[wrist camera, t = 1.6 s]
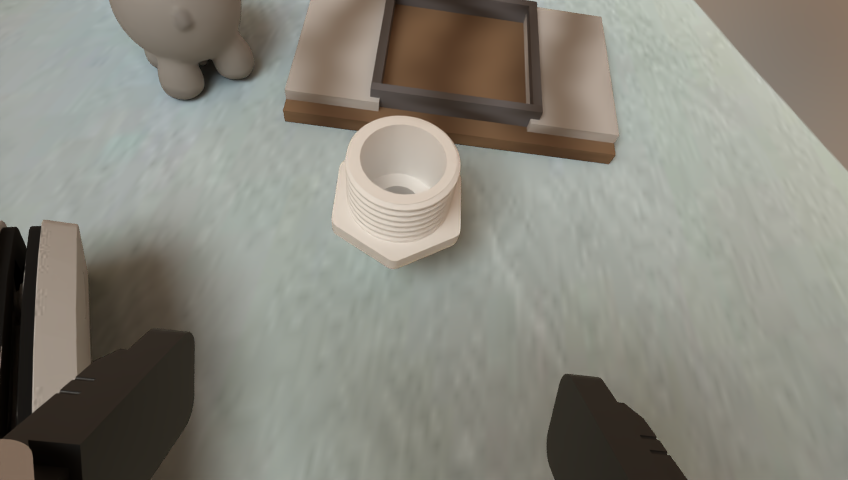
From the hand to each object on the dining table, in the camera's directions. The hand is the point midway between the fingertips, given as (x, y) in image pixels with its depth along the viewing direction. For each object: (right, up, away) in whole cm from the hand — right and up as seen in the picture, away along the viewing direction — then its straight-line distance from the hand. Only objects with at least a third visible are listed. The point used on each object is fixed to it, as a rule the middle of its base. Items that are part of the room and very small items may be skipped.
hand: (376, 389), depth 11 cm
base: (+3, +16, +26) cm, 31 cm away
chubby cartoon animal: (-16, +17, +24) cm, 34 cm away
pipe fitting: (-1, +3, +19) cm, 19 cm away
